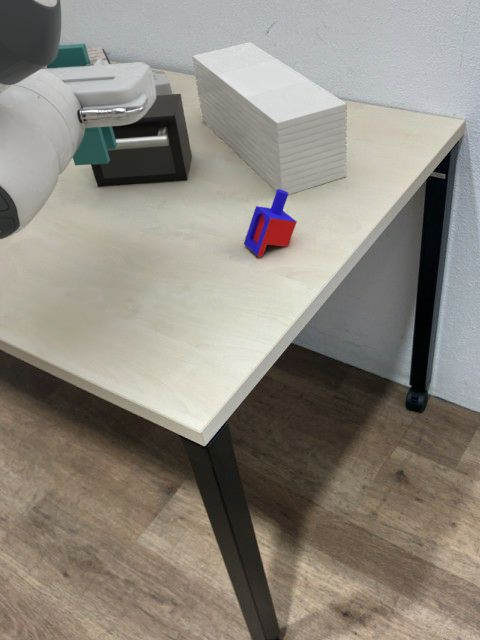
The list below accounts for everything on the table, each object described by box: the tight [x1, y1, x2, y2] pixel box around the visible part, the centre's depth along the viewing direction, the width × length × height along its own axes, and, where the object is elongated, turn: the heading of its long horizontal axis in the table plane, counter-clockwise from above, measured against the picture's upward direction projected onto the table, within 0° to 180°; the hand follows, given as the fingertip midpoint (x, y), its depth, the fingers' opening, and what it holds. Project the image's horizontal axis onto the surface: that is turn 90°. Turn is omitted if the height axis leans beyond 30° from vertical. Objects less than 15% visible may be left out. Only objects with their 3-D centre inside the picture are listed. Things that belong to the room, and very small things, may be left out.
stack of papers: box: [191, 41, 348, 196], centre depth 96 cm, size 32×11×11 cm, turn 27°
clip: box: [47, 43, 117, 166], centre depth 68 cm, size 5×4×12 cm
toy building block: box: [243, 189, 298, 258], centre depth 77 cm, size 4×4×8 cm
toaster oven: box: [90, 93, 193, 188], centre depth 91 cm, size 12×14×10 cm
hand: (73, 68), depth 67 cm, fingers closed on clip, 4 cm apart
